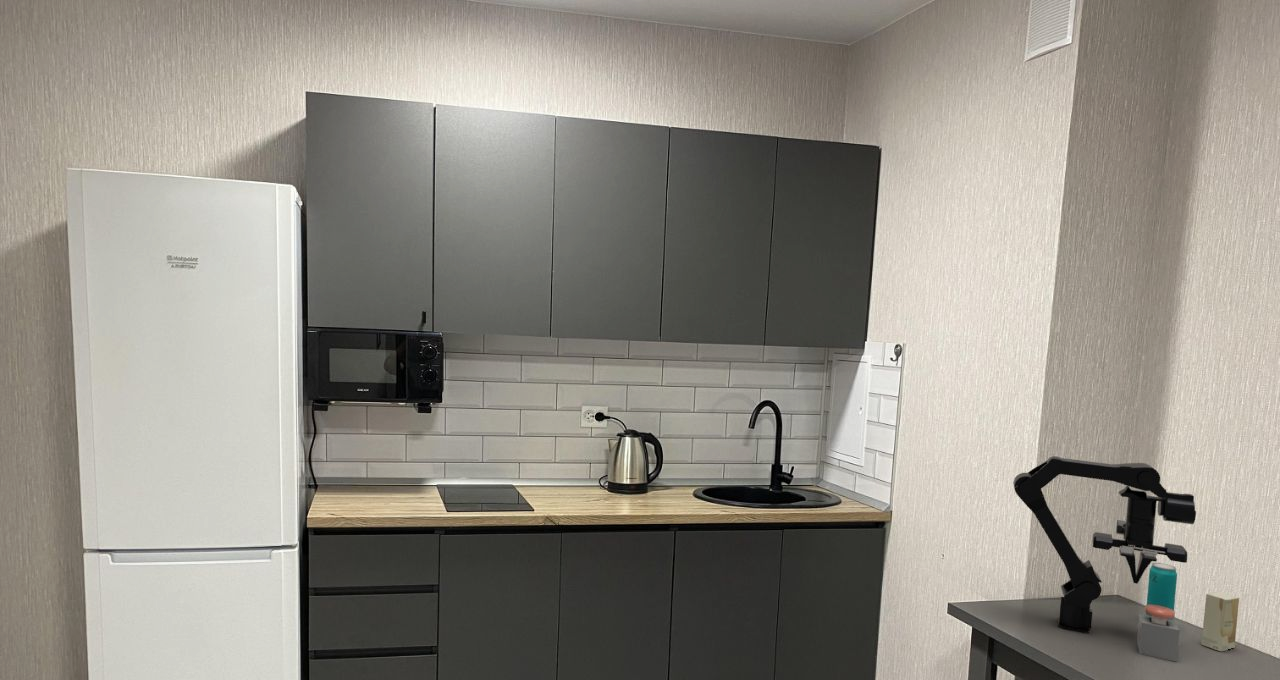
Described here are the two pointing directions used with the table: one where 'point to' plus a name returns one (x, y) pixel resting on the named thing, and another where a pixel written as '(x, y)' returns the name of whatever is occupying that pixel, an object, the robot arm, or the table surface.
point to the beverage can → (1162, 585)
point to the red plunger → (1159, 613)
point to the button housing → (1158, 638)
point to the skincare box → (1220, 621)
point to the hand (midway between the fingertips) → (1135, 583)
